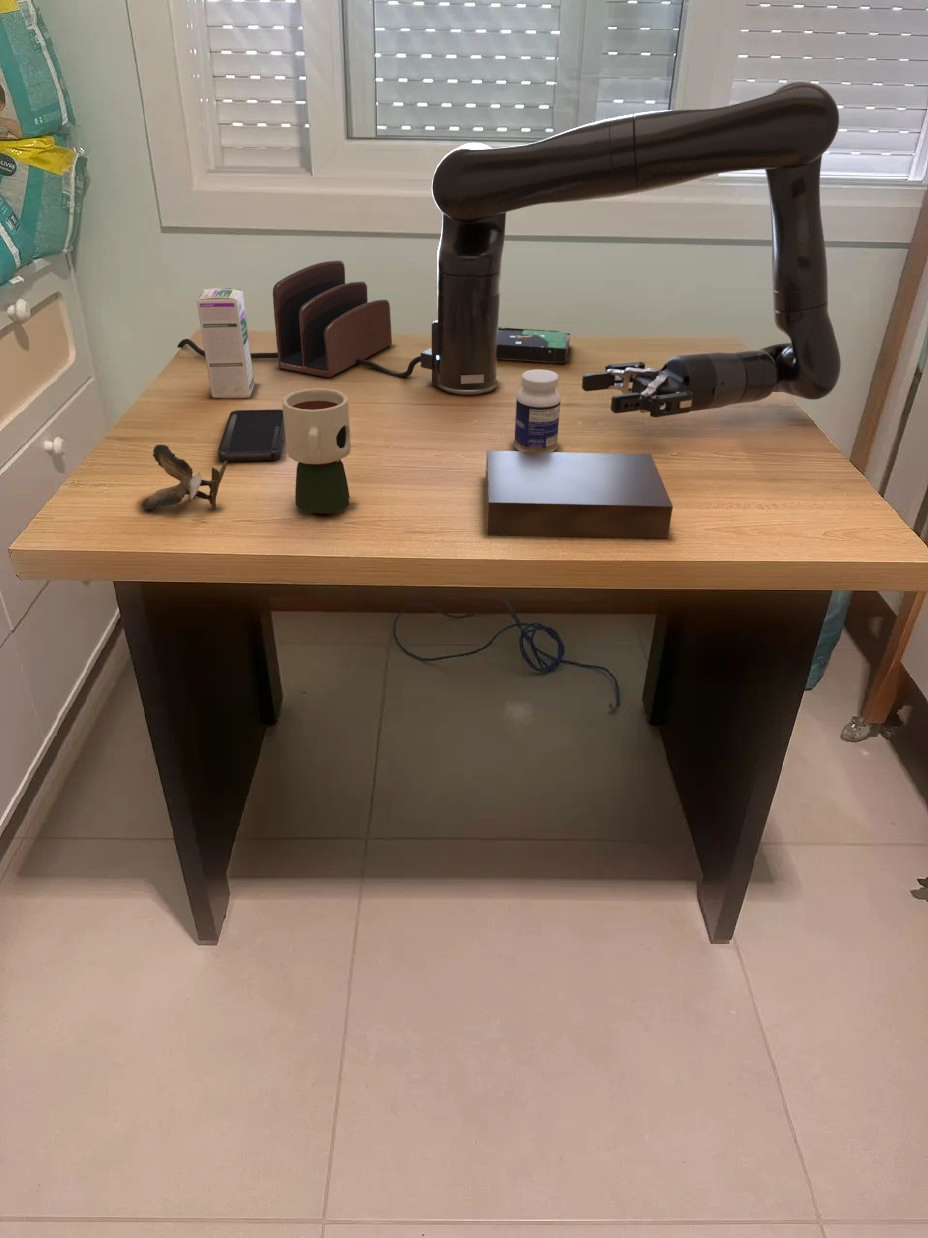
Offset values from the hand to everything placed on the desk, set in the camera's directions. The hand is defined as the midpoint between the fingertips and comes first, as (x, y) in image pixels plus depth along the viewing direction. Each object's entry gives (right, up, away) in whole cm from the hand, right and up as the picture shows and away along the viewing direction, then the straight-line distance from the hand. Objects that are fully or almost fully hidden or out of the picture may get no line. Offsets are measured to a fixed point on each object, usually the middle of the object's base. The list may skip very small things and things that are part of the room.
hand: (597, 393), depth 117 cm
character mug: (-34, -17, -14) cm, 41 cm away
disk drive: (-7, +16, +36) cm, 40 cm away
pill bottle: (-8, -7, +1) cm, 11 cm away
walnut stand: (-5, -17, -13) cm, 22 cm away
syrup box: (-53, +4, +17) cm, 55 cm away
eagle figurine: (-50, -17, -14) cm, 55 cm away
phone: (-46, -6, +2) cm, 46 cm away
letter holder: (-39, +14, +31) cm, 52 cm away
